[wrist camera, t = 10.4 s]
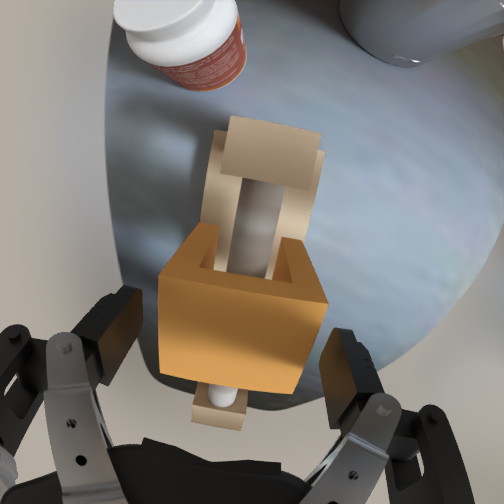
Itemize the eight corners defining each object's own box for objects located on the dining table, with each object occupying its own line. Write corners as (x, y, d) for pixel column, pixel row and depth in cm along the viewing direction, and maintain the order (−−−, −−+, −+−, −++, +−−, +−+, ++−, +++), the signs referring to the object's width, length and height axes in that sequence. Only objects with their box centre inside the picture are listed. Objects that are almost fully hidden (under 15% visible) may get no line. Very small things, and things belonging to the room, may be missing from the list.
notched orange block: (199, 222, 16) (158, 274, 9) (301, 240, 16) (328, 304, 9) (191, 296, 17) (160, 372, 11) (282, 311, 18) (292, 394, 11)
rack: (217, 131, 19) (159, 108, 8) (321, 151, 19) (387, 154, 8) (192, 310, 25) (152, 411, 14) (276, 326, 25) (280, 435, 14)
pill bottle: (264, 60, 17) (262, -17, 7) (203, 108, 19) (143, 72, 8) (213, 16, 15) (176, -63, 5) (156, 62, 17) (80, 13, 7)
